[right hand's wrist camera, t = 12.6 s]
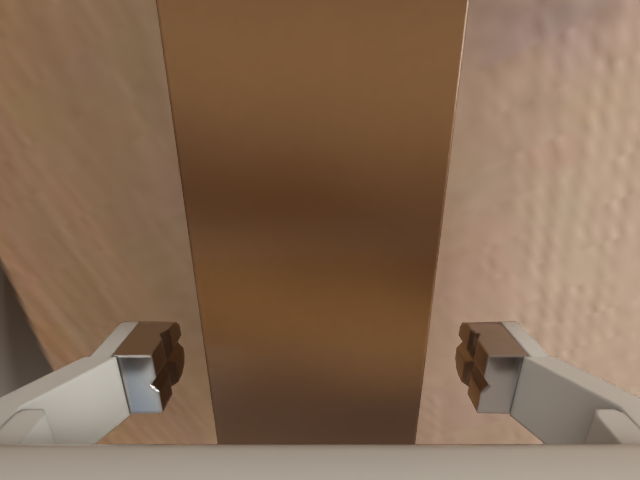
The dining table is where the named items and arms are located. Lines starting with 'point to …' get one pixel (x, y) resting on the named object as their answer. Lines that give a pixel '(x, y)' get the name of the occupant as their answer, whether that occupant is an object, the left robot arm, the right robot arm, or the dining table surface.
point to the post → (314, 205)
